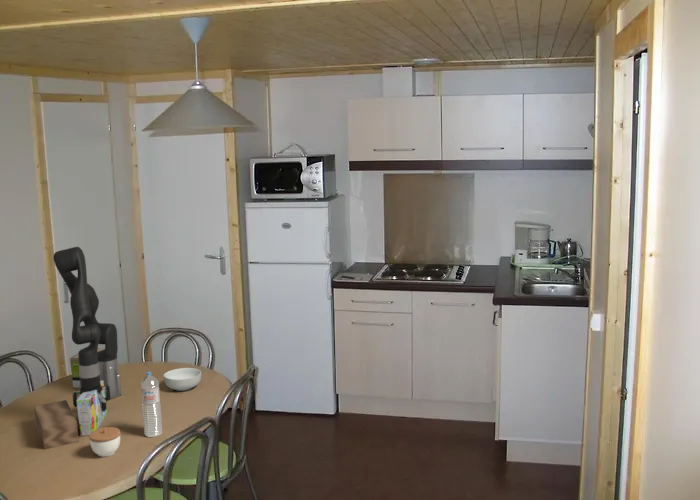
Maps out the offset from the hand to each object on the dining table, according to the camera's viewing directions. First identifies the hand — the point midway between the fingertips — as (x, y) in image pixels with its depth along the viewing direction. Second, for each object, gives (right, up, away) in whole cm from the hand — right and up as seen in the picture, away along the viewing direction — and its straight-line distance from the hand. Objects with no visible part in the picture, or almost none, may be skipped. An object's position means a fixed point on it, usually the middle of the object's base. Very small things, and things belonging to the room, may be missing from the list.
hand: (93, 413), depth 278 cm
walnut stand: (-12, -6, -6) cm, 15 cm away
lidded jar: (+14, -9, -24) cm, 29 cm away
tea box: (-20, +2, +50) cm, 54 cm away
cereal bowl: (+27, +2, +40) cm, 48 cm away
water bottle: (+27, -6, -9) cm, 29 cm away
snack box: (0, -5, +1) cm, 5 cm away
